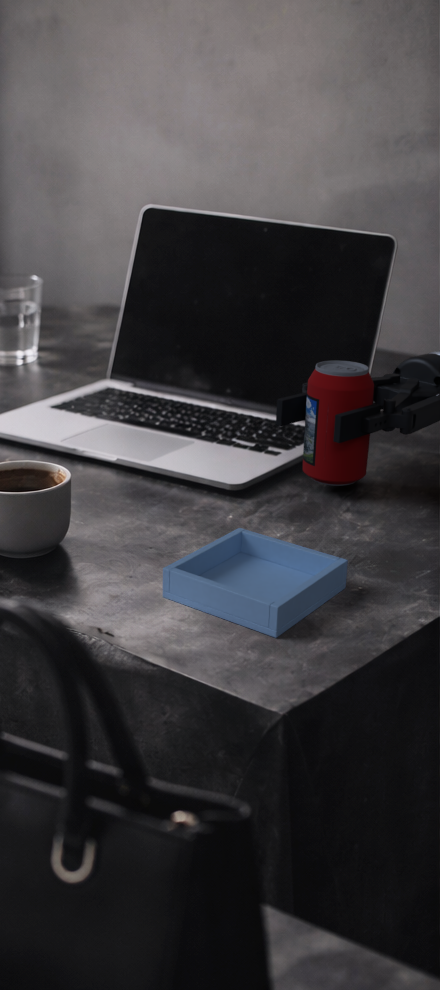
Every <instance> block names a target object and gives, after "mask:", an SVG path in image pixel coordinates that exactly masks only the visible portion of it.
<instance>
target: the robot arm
mask: <svg viewBox="0 0 440 990" xmlns="http://www.w3.org/2000/svg"><path fill="white" fill-rule="evenodd" d="M371 378H372V380H373V383H374V393H373V404H372V405H369V406H365V407H361V408H358V409H354V410H351V411H347V412H344V413H340V414H337V415H335V426H334V439H333V442H337V443H342V442H345V441H348V440H351V439H355V438H358V437H361V436H364V435H367V434H370V435H371V434H373V433H376V432H379V431H383V432H386V433H388V432H393V431H394V430H395V429H399V433H400V434H402V435H406V436H407V435H411V434H414V433H415V432H418V431H420V430H422V429H425V428H427V427H429V426H431V425H434V424H436V423H438V422H440V349H437V350H434V351H430V352H429V353H424V354H419V355H416V356H415V355H414V356H411V357H408V358H406V359H404V360H403V361H401V362H400V363H399V364H398V365H397V366H396V368H394V370H393V372H391V373H386V374H384V375H382V376H375V377H373V376H372V377H371ZM307 387H308V381H306V382H304V383H302V389H301V390H302V391H301V392H300V393H297V394H293V395H288V396H285V397H281V398H277V399H276V412H275V413H276V414H275V426H279V427H285V426H288V425H291V424H295V423H299V422H302V421H305V416H306V401H307Z"/></svg>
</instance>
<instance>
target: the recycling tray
mask: <svg viewBox="0 0 440 990" xmlns="http://www.w3.org/2000/svg"><path fill="white" fill-rule="evenodd" d="M348 564H349V560H348V559H347V558H342V557H340V556H335V555H332V554H329V553H326V552H321V551H319V550H315V549H312V548H309V547H305V546H304V545H303V546H302V545H299V544H296V543H293V542H289V541H286V540H282V539H279V538H276V537H273V536H269V535H266V534H262V533H258V532H255V531H252V530H248V529H246V528H241V527H238V528H236V529H234V530H232V531H230V532H229V533H226V534H224V535H223V536H220V537H219V538H217V539H215V540H213V541H211V542H209V543H208V544H206V545H204V546H202V547H199V548H198V549H197V550H194V551H192V552H191V553H189V554H187V555H185V556H183V557H182V558H180V559H177V560H176V561H174V562H172V563H170V564H168V565H166V566H164V567H163V568H162V598H164V599H167V600H170V601H172V602H176V603H178V604H181V605H184V606H187V607H188V608H189V607H190V608H192V609H195V610H197V611H200V612H203V613H206V614H208V615H212V616H214V617H216V618H219V619H223V620H225V621H228V622H231V623H233V624H236V625H239V626H241V627H244V628H247V629H250V630H253V631H256V632H258V633H261V634H263V635H266V636H269V637H272V638H274V639H277V638H278V637H280V636H281V635H283V634H284V633H285V632H286V631H288V630H290V629H291V628H292V627H294V626H295V625H296V624H298V623H299V622H301V621H302V620H303V619H305V618H306V617H308V616H309V615H310V614H312V613H313V612H314V611H316V610H317V609H319V608H320V607H321V606H322V605H324V604H326V603H327V602H329V601H330V600H332V598H334V597H335V596H336V595H338V594H339V593H341V592H342V591H344V590H345V589H346V588H347V575H348Z"/></svg>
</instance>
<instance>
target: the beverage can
mask: <svg viewBox="0 0 440 990" xmlns="http://www.w3.org/2000/svg"><path fill="white" fill-rule="evenodd" d="M372 378H373V377H372V376H371V373H370V372H369V366H368V365H366V364H364V363H360V362H357V361H349V360H324V361H319V362H317V363H315V368H314V370H313V371H312V372H311V375H310V376H309V378H308V379H307V382H308V387H307V401H306V416H305V420H304V432H303V434H304V437H303V450H302V451H303V453H302V472H303V473H304V474H305V475H306V476H308V477H309V478H310V479H311V480H313V482H316V483H318V484H321V485H327V486H335V487H340V486H341V487H342V486H343V487H344V486H349V485H353V484H355V483H356V482H358V481H360V480H361V479H363V478H364V477H366V476H367V470H368V469H367V468H368V461H369V460H368V459H369V450H370V440H371V439H370V438H371V434H367V435H364V436H361V437H358V438H355V439H351V440H348V441H345V442H342V443H337V442H333V439H334V426H335V415H337V414H340V413H344V412H347V411H351V410H354V409H358V408H361V407H365V406H369V405H372V404H373V403H374V402H373V393H374V383H373V380H372Z"/></svg>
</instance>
